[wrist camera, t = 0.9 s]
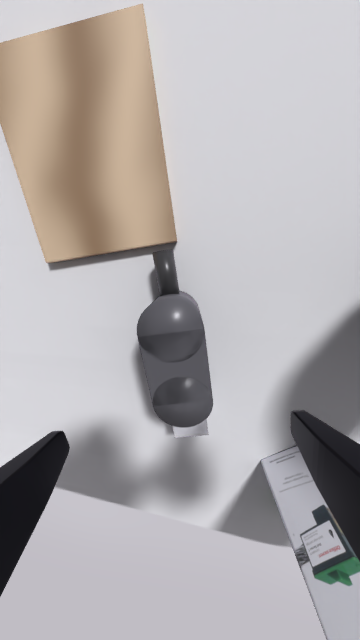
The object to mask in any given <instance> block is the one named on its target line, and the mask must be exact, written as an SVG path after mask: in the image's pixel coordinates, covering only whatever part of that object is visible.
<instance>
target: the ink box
mask: <svg viewBox="0 0 360 640" xmlns="http://www.w3.org/2000/svg"><path fill="white" fill-rule="evenodd" d="M261 464H262V467H263V470H264V472H265V475H266V478H267V481H268V483H269V486H270V489H271V491H272V494H273V497H274V500H275V502H276V505H277V508H278V510H279V513H280V516H281V518H282V521H283V524H284V526H285V529H286V532H287V534H288V537H289V540H290V542H291V545H292V548H293V550H294V553H295V556H296V558H297V561H298V563H299V566H300V569H301V572H302V574H303V577H304V580H305V582H306V585H307V588H308V590H309V593H310V596H311V598H312V601H313V604H314V607H315V609H316V612H317V615H318V617H319V620H320V622H321V626H322V628H323V631H324V633H325V636H326V639H327V640H360V562H359V560H358V558H357V557H356V555H355V553H354V551H353V550H352V548H351V546H350V544H349V543H348V541H347V539H346V537H345V536H344V534H343V532H342V530H341V529H340V527H339V525H338V523H337V522H336V520H335V518H334V516H333V515H332V513H331V511H330V509H329V508H328V506H327V504H326V502H325V501H324V499H323V497H322V495H321V494H320V492H319V490H318V488H317V486H316V484H315V482H314V480H313V478H312V476H311V474H310V472H309V470H308V468H307V465H306V463H305V461H304V459H303V457H302V455H301V453H300V451H299V448H298V446H296V447H293V448H290V449H287V450H285V451H282V452H280V453H277V454H274V455H272V456H269V457H267V458H264V459H262V460H261Z"/></svg>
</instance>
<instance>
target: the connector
mask: <svg viewBox="0 0 360 640" xmlns="http://www.w3.org/2000/svg"><path fill="white" fill-rule="evenodd" d="M153 259H154V264H155V270H156V275H157V281H158V287H159V292H160V296H159V297H158V298H157V299H156V300H155V301H154V302H153V303H152V304H150V305H149V306H148V307H147V308H146V309H145V310H144V312H143V313H142V314H141V316H140V318H139V321H138V324H137V336H138V341H139V345H140V350H141V354H142V359H143V363H144V368H145V372H146V377H147V381H148V385H149V390H150V394H151V399H152V403H153V407H154V410H155V412H156V414H157V415H158V417H159V418H160V419H161V420H163V421H164V422H165V423H167V424H169V425H172V426H173V431H174V436H175V438H177V437H190V436H202V435H208V427H207V420H206V419H207V417H208V416H209V415H210V413H211V411H212V407H213V398H212V389H211V381H210V373H209V364H208V356H207V348H206V339H205V331H204V325H203V321H202V318H201V314H200V311H199V307H198V305H197V303H196V301H195V300H194V299H193V298H192V297H191V296H190V295H189V294H187V293H185V292H182V291H179V287H178V280H177V273H176V267H175V260H174V253H173V250H165V251H159V252H155V253H153Z"/></svg>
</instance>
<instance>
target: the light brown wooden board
mask: <svg viewBox="0 0 360 640" xmlns="http://www.w3.org/2000/svg"><path fill="white" fill-rule="evenodd" d="M0 124H1V127H2V130H3V133H4V136H5V139H6V142H7V145H8V148H9V151H10V154H11V157H12V160H13V163H14V166H15V169H16V172H17V175H18V179H19V182H20V185H21V188H22V191H23V194H24V197H25V200H26V203H27V206H28V209H29V212H30V215H31V218H32V221H33V224H34V227H35V230H36V233H37V236H38V240H39V243H40V246H41V249H42V252H43V255H44V258H45V261H46V263H54V262H60V261H66V260H72V259H78V258H84V257H90V256H96V255H102V254H108V253H114V252H120V251H126V250H132V249H138V248H143V247H149V246H155V245H161V244H167V243H173V242H177V237H176V230H175V223H174V216H173V209H172V202H171V195H170V188H169V181H168V174H167V167H166V160H165V153H164V146H163V139H162V132H161V125H160V118H159V111H158V104H157V97H156V90H155V83H154V76H153V69H152V62H151V55H150V48H149V41H148V34H147V27H146V20H145V14H144V8H143V4H139V5H136V6H132V7H128V8H125V9H121V10H117V11H114V12H110V13H107V14H103V15H99V16H96V17H92V18H89V19H85V20H81V21H78V22H74V23H70V24H67V25H63V26H60V27H56V28H52V29H49V30H45V31H42V32H38V33H34V34H31V35H27V36H23V37H20V38H16V39H13V40H9V41H5V42H2V43H0Z"/></svg>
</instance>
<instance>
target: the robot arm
mask: <svg viewBox="0 0 360 640" xmlns="http://www.w3.org/2000/svg"><path fill="white" fill-rule="evenodd" d="M291 433H292V435H293V438H294V440H295V442H296V444H297V446H298V448H299V451H300V453H301V455H302V457H303V459H304V461H305V463H306V465H307V468H308V470H309V472H310V474H311V476H312V478H313V480H314V482H315V484H316V486H317V488H318V490H319V492H320V494H321V495H322V497H323V499H324V501H325V502H326V504H327V506H328V508H329V509H330V511H331V513H332V515H333V516H334V518H335V520H336V522H337V523H338V525H339V527H340V529H341V530H342V532H343V534H344V536H345V537H346V539H347V541H348V543H349V544H350V546H351V548H352V550H353V551H354V553H355V555H356V557H357V558H358V560H359V562H360V444H358V443H357V442H355V441H353V440H352V439H350V438H349V437H347V436H345V435H344V434H342V433H340V432H339V431H337V430H335V429H334V428H332V427H331V426H329V425H327V424H326V423H324V422H322V421H321V420H319V419H318V418H316V417H314V416H313V415H311V414H309V413H308V412H306V411H304V410H297V411H292V412H291ZM69 449H70V447H69V443H68V441H67V438H66V436H65V433H64V432H63V431H53V432H51V433H49V434H48V435H46V436H45V437H43V438H42V439H41V440H39V441H38V442H36V443H35V444H33V445H32V446H31V447H29V448H28V449H26V450H25V451H23V452H22V453H20V454H19V455H18V456H16V457H15V458H13V459H12V460H10V461H9V462H8V463H6V464H5V465H3V466H2V467H0V596H1V594H2V592H3V590H4V588H5V586H6V584H7V582H8V580H9V578H10V576H11V574H12V572H13V570H14V568H15V566H16V564H17V562H18V560H19V558H20V556H21V555H22V552H23V551H24V548H25V546H26V545H27V543H28V541H29V539H30V537H31V535H32V533H33V530H34V529H35V527H36V524H37V522H38V521H39V519H40V516H41V514H42V512H43V511H44V509H45V506H46V504H47V502H48V500H49V498H50V496H51V494H52V491H53V489H54V487H55V484H56V482H57V479H58V477H59V475H60V472H61V470H62V468H63V465H64V463H65V460H66V458H67V456H68V453H69Z"/></svg>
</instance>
